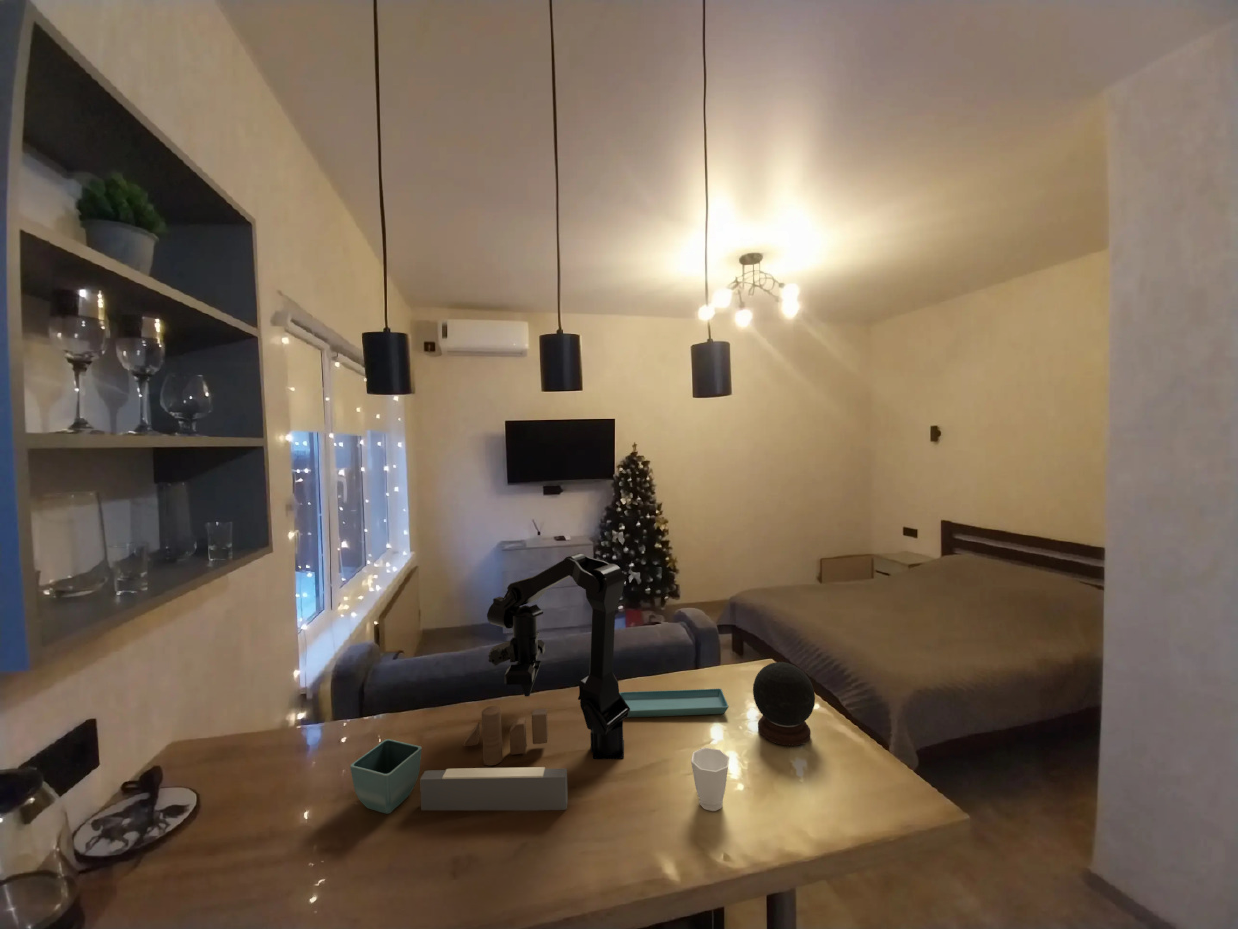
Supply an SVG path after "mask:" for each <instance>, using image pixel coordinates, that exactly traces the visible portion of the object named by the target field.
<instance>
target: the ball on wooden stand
mask: <svg viewBox="0 0 1238 929" xmlns="http://www.w3.org/2000/svg"><path fill="white" fill-rule="evenodd" d="M752 686H753V688H752V694H753V700H754V702H755V703H754V704H755V705H756V707H757V709H758V711H759V713H761V715H762V716H761V718H759V720H758V721H757V728H758V733H759V734H760V735H761V736H762V737H763V738H764V739H766V740H768V741H770V742H772V743H775V744H777V745H781V746H789V747H790V746H792V747H794V746H799V745H804V744H805V743H807V742H808V741H809V740H810V738H811V735H812V734H811V731H812V730H811V728H810V726H809V725H808V724H807V722H806V721H807V720H808V719H809V718H810V716H811V714H812V713H813V712H814V708H815V703H816V702H815V701H816V694H815V690H814V685H813V683H812V682H811V680H810V678H809V677H808V675H807V674H806V673H805V672H804V671H803V670H802V669H800V668H799V667H797V666H796V665H794V664H792V663H789V662H784V661H775V662H771V663H769V664H767V665H765V666H764V667H762V668H761V669H760V670H759V671H758V673H757V675H756V676H755V678H754V682H753V685H752Z"/></svg>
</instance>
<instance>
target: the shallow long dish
mask: <svg viewBox="0 0 1238 929" xmlns="http://www.w3.org/2000/svg"><path fill="white" fill-rule="evenodd" d="M619 693H620V695H621V696H622V698H623V699H624V701H625V702H626V703H627V705H628V706H629V708H630V712H629V715H628V717H627V718H643V717H644V718H646V717H651V718H652V717H674V716H675V717H677V716H678V717H679V716H697V715H698V716H700V715H722V714H725V713H726V711H727V710H728V709H729V704H728V702H727V699H726V697H725V694H724V692H723V690H722V688H701V689H698V688H697V689H679V690H678V689H674V690H671V689H670V690H643V691H642V690H641V691H638V690H637V691H619Z"/></svg>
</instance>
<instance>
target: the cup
mask: <svg viewBox="0 0 1238 929" xmlns="http://www.w3.org/2000/svg"><path fill="white" fill-rule="evenodd" d="M729 761H730V756H728V755H727V754H726V753H724V752H723V751H722V750H721V749H716V748H711V747H700V748H699V749H697V750H695V751H693V752H692V756H691V761H690V762H691V770H692V773H693V779H694V786H695V791H696V793H697V797H698V798H699V799H698V804H699V805H700V806H701V807H702V808H703V809H704V810H706V811H710V812H711V811H712V812H716V811H718V810H720V809H722V808H723V804H724V795H725V791H726V786H727V777H728V770H729V763H730V762H729Z"/></svg>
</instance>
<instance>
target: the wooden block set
mask: <svg viewBox="0 0 1238 929" xmlns="http://www.w3.org/2000/svg"><path fill="white" fill-rule="evenodd" d="M526 723H527V722H526V717H518V718H517V719H516V720H515V721H514V722H513V723H512V725H511V726H510V730H509V752H510V753H509V754H510V755H521V754H522V755H525V754H526V750H527V725H526ZM548 724H549V722H548V710H547V708H536V709H532V713H531V731H532V736H531V737H532V744H533V745H543V744H547V743H548V740H549V728H548V727H549V725H548ZM481 728H482V729H481ZM481 728H480V722H477V724H476V725H475V727H474V728H473V729H472V730H471V731H470V733H469V734H468V735H467V737H466V738H465V740H464V742H463V744H462V746H463V747H467V746H477V745H478V743H479V740H480V737H481V735H482V753H483V754H482V757H483V763H484V765H486V766H487V767H488V766H489V767H490V766H496V765H498V764H500V763H501V762H502V760H503V757H504V756H503V752H504V751H503V735H502V734H503V732H502V731H503V730H502V729H503V728H502V709H501V707H499V706H497V705H492V706H488V707H485V708H483V710H482V711H481ZM480 730H482V734H480V733H481V732H480Z"/></svg>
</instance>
